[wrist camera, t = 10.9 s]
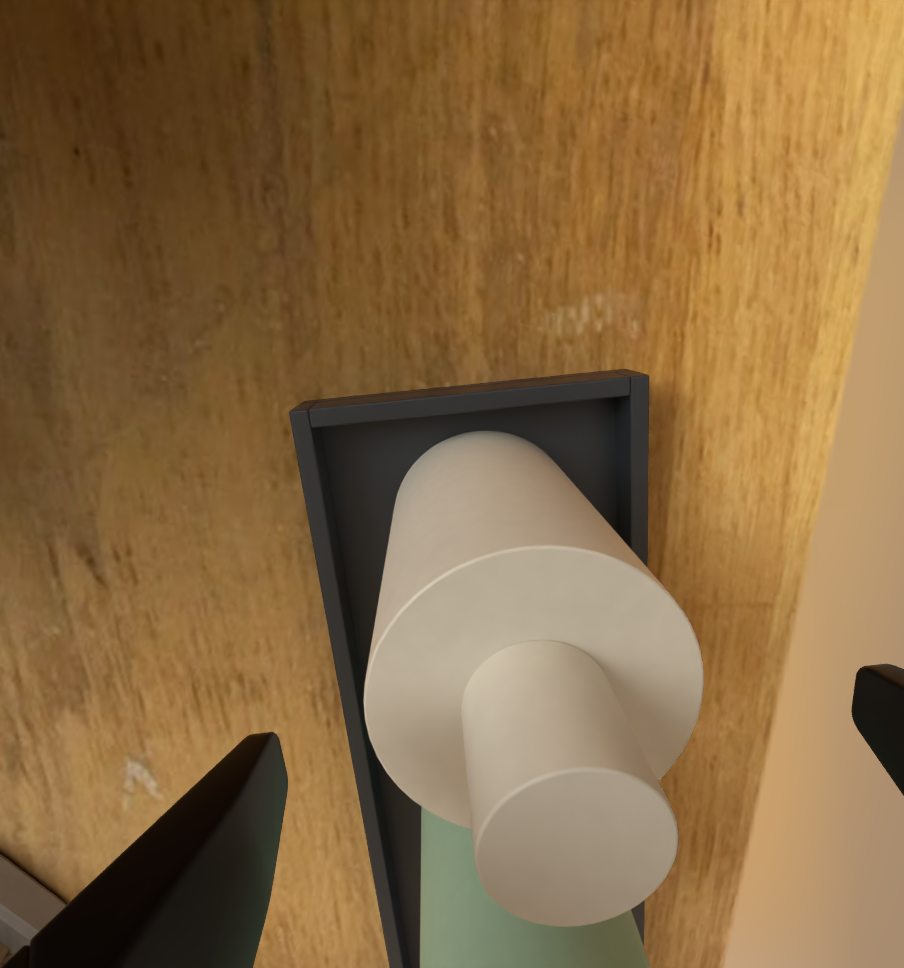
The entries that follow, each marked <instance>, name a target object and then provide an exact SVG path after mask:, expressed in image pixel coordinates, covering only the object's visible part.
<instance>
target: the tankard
mask: <svg viewBox="0 0 904 968" xmlns="http://www.w3.org/2000/svg"><path fill="white" fill-rule="evenodd" d="M64 907H66V904H65V902H64V901H62V900H61V899H60V898H58V897H57V896H56V895H54V894H53V893H52V892H50V891H49V890H48V889H46V888H45V887H44V886H42V885H41V884H40V883H38V882H37V881H36V880H35V879H33V878H32V877H31V876H29V875H28V874H27V873H25V872H24V871H23V870H21V869H20V868H19V867H17V866H16V865H15V864H13V863H12V862H11V861H9V860H8V859H7V858H5V857H4V856H3V855H1V854H0V967H1V966H2V965H3V964H5V963H6V962H7V961H8V960H9V959H10V958H11V957H12V956H13V955H14V954H15V953H16V952H17V951H18V950H19V949H20V948H22V947H23V946H24V945H29V946H30V941H31V939H32V938H33V937H34V936H35V935H36V934H37V933H38V932H39V931H40V930H41V929H42V928H43V927H44V926H45V925H46V924H47V923H48V922H50V921H51V920H52V919H53V918H54V917H55V916H56V915H57V914H58V913H59V912H60V911H61V910H62V909H63V908H64Z"/></svg>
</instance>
